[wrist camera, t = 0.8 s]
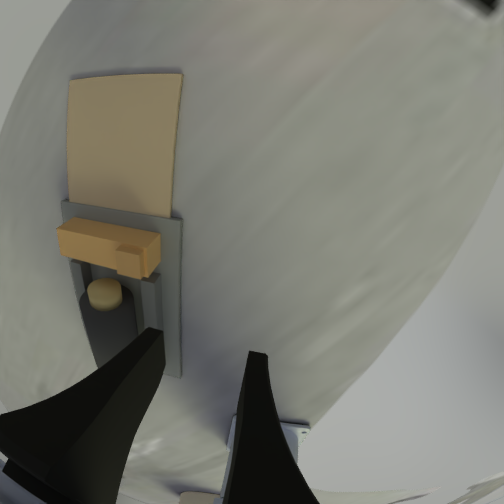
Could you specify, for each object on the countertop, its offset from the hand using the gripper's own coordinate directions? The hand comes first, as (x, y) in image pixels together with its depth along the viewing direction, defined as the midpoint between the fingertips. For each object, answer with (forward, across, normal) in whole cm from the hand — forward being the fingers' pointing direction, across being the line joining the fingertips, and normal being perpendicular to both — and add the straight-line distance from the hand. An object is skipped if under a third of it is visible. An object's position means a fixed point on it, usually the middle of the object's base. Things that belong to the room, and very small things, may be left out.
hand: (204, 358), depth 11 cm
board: (+8, +8, +2) cm, 12 cm away
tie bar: (+8, +8, 0) cm, 12 cm away
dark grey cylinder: (+8, +8, +7) cm, 14 cm away
